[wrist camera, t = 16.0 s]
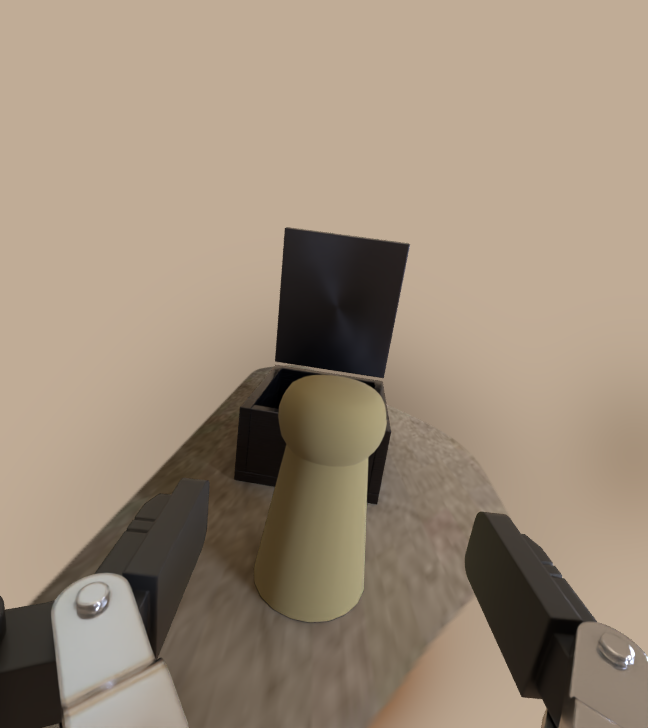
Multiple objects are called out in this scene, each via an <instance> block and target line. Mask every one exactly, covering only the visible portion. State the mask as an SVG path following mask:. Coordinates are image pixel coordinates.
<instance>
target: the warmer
mask: <svg viewBox="0 0 648 728" xmlns="http://www.w3.org/2000/svg"><path fill="white" fill-rule="evenodd" d="M311 375H334V376H341V377H346V378H350V379H354V380H357V381H360V382H362V383H365V384H367V385H368V386H370V387H372V388H373V389H374V390H376V391H377V392H378V393H379V394H380V396H381V397H382V399H383V402H384V404H385V408H386V420H387V424H386V429H385V434H384V437H383V439H382V441H381V443H380V445H379V446H378V448H377V449H376V450H375V452H374V453H372V454H371V455H370V456H369V457H368V482H367V502H368V503H373V504H377V502H378V497H379V491H380V486H381V481H382V476H383V471H384V466H385V460H386V455H387V450H388V445H389V440H390V435H391V429H390V423H389V417H388V411H387V405H386V400H385V393H384V387H383V382H382V381H377V380H375V381H374V380H370V379H364V378H357V377H351V376H344V375H338V374H332V373H325V372H319V371H312V370H306V369H299V368H293V367H286V366H280V365H275V366H274V367H273V368H272V370H271V371H270V372H269V373H268V374H267V376H266V377H265V378H264V379H263V380H262V381H261V383H260V384H259V385H258V386H257V387H256V389H255V390H254V391H253V392H252V393H251V395H250V396H249V397H248V398H247V399H246V401H245V402H244V403H243V404H242V405H241V407H240V414H239V426H238V439H237V451H236V463H235V476H234V479H235V480H240V481H246V482H252V483H257V484H263V485H269V486H276V482H277V478H278V474H279V471H280V467H281V463H282V459H283V455H284V452H285V448H286V442H285V440H284V439H283V437H282V435H281V430H280V425H279V418H278V414H279V405H280V402H281V400H282V397H283V395H284V393H285V392H286V390H287V389H288V388H289V386H290V385H291V384H292V383H293V382H294V381H296V380H298V379H301V378H303V377H306V376H311Z"/></svg>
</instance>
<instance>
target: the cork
mask: <svg viewBox="0 0 648 728" xmlns="http://www.w3.org/2000/svg"><path fill="white" fill-rule="evenodd" d="M278 418H279V425H280V430H281V435H282V437H283V439H284V440H285V442H286V448H285V452H284V455H283V459H282V463H281V467H280V471H279V474H278V478H277V482H276V486H275V490H274V493H273V497H272V501H271V505H270V509H269V512H268V516H267V520H266V524H265V528H264V531H263V535H262V539H261V543H260V547H259V550H258V554H257V558H256V562H255V566H254V583H255V585H256V587H257V589H258V591H259V594H260V596H261V597H262V598H263V599H264V600H265V601H266V602H267V603H268V604H269V605H270V606H271V607H272V608H273V609H274V610H276V611H278V612H279V613H281V614H283V615H285V616H287V617H289V618H291V619H296V620H301V621H306V622H320V621H330V620H332V619H335V618H337V617H340V616H342V615H345V614H346V613H347V612H349V611H350V610H351V609H352V608H353V607H354V606H355V605H356V604H357V603H358V601H359V599H360V597H361V595H362V592H363V590H364V564H365V536H366V509H367V482H368V457H369V456H370V455H371V454H372V453H374V452H375V450H376V449H377V448H378V446H379V445H380V443H381V441H382V439H383V437H384V434H385V429H386V424H387V420H386V408H385V404H384V402H383V399H382V397H381V396H380V394H379V393H378V392H377V391H376V390H374V389H373V388H372V387H370V386H368V385H367V384H365V383H362V382H360V381H357V380H354V379H350V378H346V377H341V376H334V375H311V376H306V377H303V378H301V379H298V380H296V381H294V382H293V383H292V384H291V385H290V386H289V388H288V389H287V390H286V392H285V393H284V395H283V397H282V400H281V402H280V405H279V414H278Z"/></svg>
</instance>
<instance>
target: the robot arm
mask: <svg viewBox="0 0 648 728" xmlns="http://www.w3.org/2000/svg"><path fill="white" fill-rule="evenodd" d="M208 501H209V481H208V480H199V479H190V478H182V479H181V480H180V482H179V483H178V485H177V486H176V488H175V490H174V491H173V493H172V494H171V495H169V494H158V495H157V496H155V497H154V498H152V499H151V500H149V501H148V502H146V503H145V504H144V505H143V507H142V508H141V509H140V511H139V512H138V514H137V515H136V516H135V519H134V520H133V521H132V522H131V523H130V525H129V526H128V528H127V530H126V531H125V532H124V533H123V535H122V536H121V537H120V539H119V540H118V542H117V543H116V544H115V546H114V547H113V549H112V550H111V551H110V553H109V554H108V556H107V557H106V558H105V560H104V561H103V563H102V564H101V565H100V567H99V568H98V570H97V571H96V572H95V574H93V575H90V576H87V577H84V578H82V579H80V580H78V581H76V582H74V583H73V584H71V585H70V586H68V587H67V588H66V589H65V590H63V591H62V592H61V594H60V595H59V596H58V597H57V599H56V600H54V601H51V602H47V603H42V604H36V605H30V606H24V607H19V608H12V609H6V610H5V607H4V601H3V599H2V597H1V596H0V728H42V727H46V726H50V725H54V724H57V723H59V728H189V726H188V723H187V720H186V717H185V715H184V712H183V709H182V706H181V703H180V701H179V698H178V695H177V692H176V689H175V687H174V684H173V681H172V678H171V675H170V673H169V670H168V667H167V665H166V663H165V661H164V660H163V659H162V658H159V659H157V658H158V655H159V653H160V650H161V648H162V646H163V643H164V641H165V638H166V636H167V633H168V631H169V628H170V626H171V623H172V621H173V619H174V616H175V614H176V611H177V609H178V606H179V604H180V601H181V599H182V597H183V594H184V592H185V589H186V587H187V584H188V582H189V579H190V577H191V574H192V572H193V570H194V567H195V565H196V562H197V560H198V557H199V555H200V552H201V550H202V547H203V544H204V540H205V536H206V530H207V518H208ZM465 570H466V574H467V577H468V580H469V582H470V584H471V586H472V589H473V591H474V593H475V595H476V597H477V600H478V602H479V604H480V606H481V608H482V611H483V613H484V615H485V617H486V619H487V622H488V624H489V626H490V628H491V630H492V633H493V635H494V637H495V639H496V641H497V644H498V646H499V648H500V650H501V652H502V654H503V657H504V659H505V661H506V664H507V666H508V668H509V670H510V672H511V674H512V677H513V679H514V681H515V683H516V685H517V688H518V690H519V692H520V694H521V697H525V698H537V699H543V701H544V704H545V706H546V708H547V709H546V711H545V714H544V717H543V720H542V725H541V728H648V657H647V655H646V654H645V652H643V650H642V649H641V648H640V647H639V646H638V645H637V644H635V643H634V642H633V641H632V640H631V639H629V638H628V637H627V636H625V635H624V634H622V633H621V632H619V631H617V630H616V629H614V628H611V627H610V626H607V625H604V624H602V623H598V622H597V621H596V620H595V618H594V617H593V616H592V614H591V613H590V612H589V611H588V609H587V608H586V607H585V605H584V604H583V602H582V601H581V600H580V599H579V597H578V596H577V594H576V593H575V592H574V591H573V589H572V588H571V587H570V585H569V584H568V583H567V581H566V580H565V579H564V578H562V575H561V573H560V572H559V571H558V569H557V568H556V567H555V566H553V563H552V562H551V560H550V559H549V557H548V556H547V555H546V553H545V552H544V551H543V549H542V548H541V547H540V546H538V545H537V544H536V543H535V542H534V541H532V540H531V539H530V538H529V537H528V536H526V535H525V534H521V533H520V532H519V530H518V529H517V528H516V526H515V525H514V523H513V522H512V521H511V519H510V518H509V517H508V516H507V515H505V514H497V513H488V512H479V513H478V514H477V516H476V518H475V521H474V525H473V529H472V532H471V536H470V540H469V543H468V547H467V551H466V555H465Z"/></svg>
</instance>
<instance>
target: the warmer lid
mask: <svg viewBox="0 0 648 728" xmlns="http://www.w3.org/2000/svg"><path fill="white" fill-rule="evenodd" d="M409 247H410V244H408V243H401V242H394V241H386V240H379V239H371V238H364V237H357V236H348V235H341V234H334V233H327V232H318V231H312V230H303V229H296V228H289V227H287V228H285V236H284V248H283V261H282V262H283V263H282V275H281V288H280V302H279V315H278V330H277V343H276V356H275V361H276V362H282V363H288V364H295V365H301V366H308V367H314V368H321V369H327V370H334V371H341V372H347V373H353V374H360V375H366V376H373V377H379V378H384V373H385V369H386V363H387V358H388V353H389V348H390V343H391V338H392V333H393V328H394V323H395V318H396V312H397V308H398V302H399V297H400V292H401V287H402V282H403V277H404V272H405V267H406V262H407V257H408V251H409Z"/></svg>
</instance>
